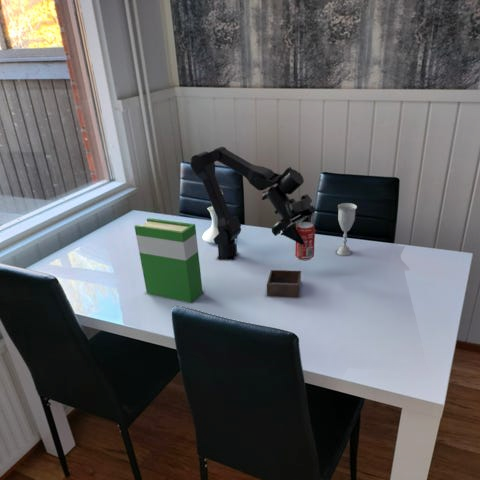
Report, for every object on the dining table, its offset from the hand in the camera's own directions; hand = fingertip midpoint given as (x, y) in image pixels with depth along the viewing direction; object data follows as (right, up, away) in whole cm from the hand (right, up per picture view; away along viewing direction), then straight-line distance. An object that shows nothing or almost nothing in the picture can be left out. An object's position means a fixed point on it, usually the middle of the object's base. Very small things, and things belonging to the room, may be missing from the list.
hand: (308, 240), depth 156 cm
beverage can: (-1, -5, +4) cm, 7 cm away
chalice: (+17, -1, +21) cm, 27 cm away
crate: (-8, -16, 0) cm, 18 cm away
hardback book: (-45, -17, +2) cm, 48 cm away
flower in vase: (-33, +7, +39) cm, 51 cm away
